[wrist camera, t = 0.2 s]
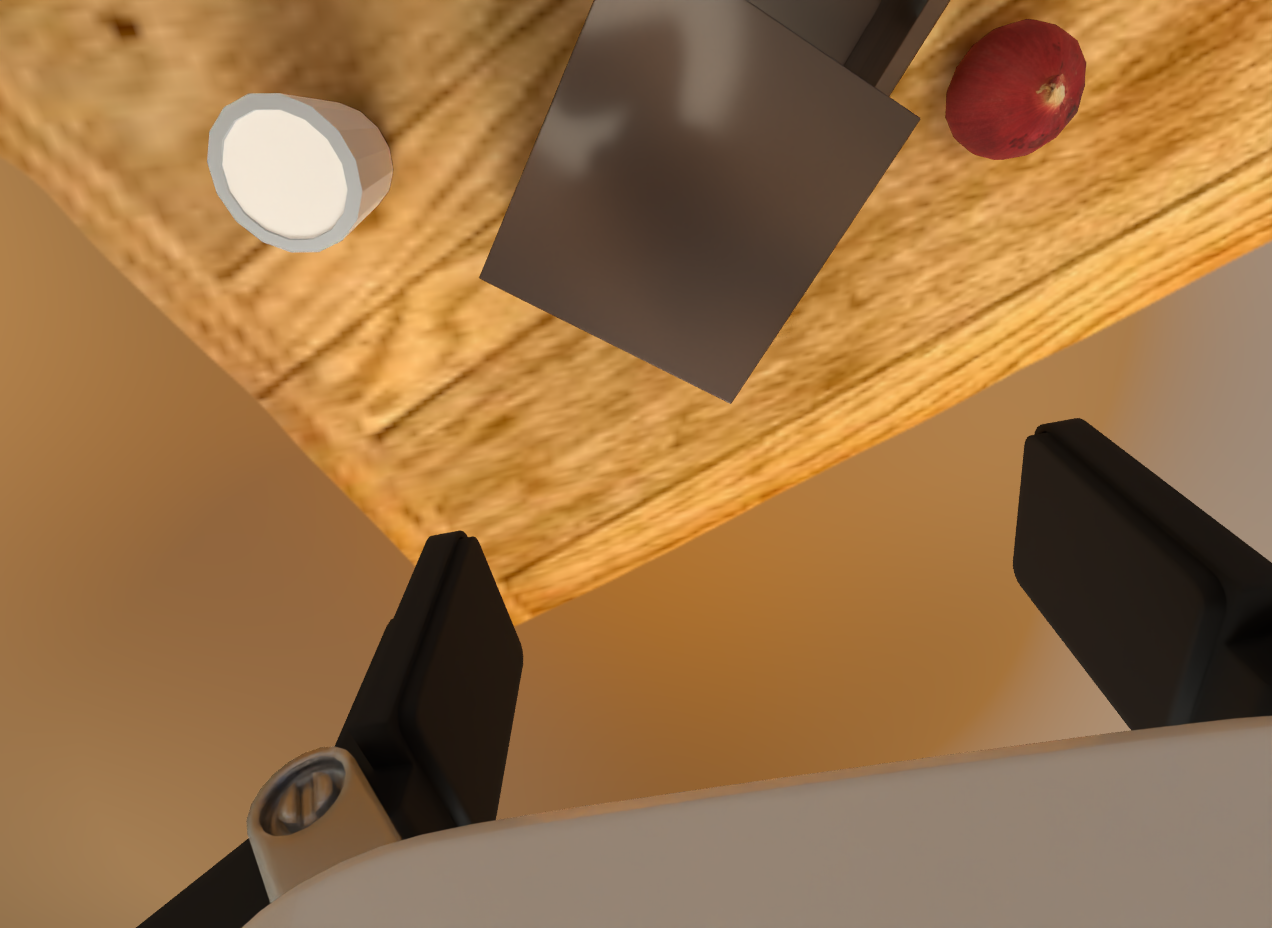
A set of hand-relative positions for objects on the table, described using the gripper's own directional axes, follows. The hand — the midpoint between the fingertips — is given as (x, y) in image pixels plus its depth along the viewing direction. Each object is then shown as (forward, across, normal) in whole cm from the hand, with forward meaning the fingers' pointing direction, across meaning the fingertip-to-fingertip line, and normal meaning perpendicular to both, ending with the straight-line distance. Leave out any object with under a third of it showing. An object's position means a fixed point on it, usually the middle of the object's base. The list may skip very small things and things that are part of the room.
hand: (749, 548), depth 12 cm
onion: (+31, -17, -3) cm, 36 cm away
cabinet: (+31, -1, -2) cm, 31 cm away
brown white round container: (+31, +17, -6) cm, 36 cm away
